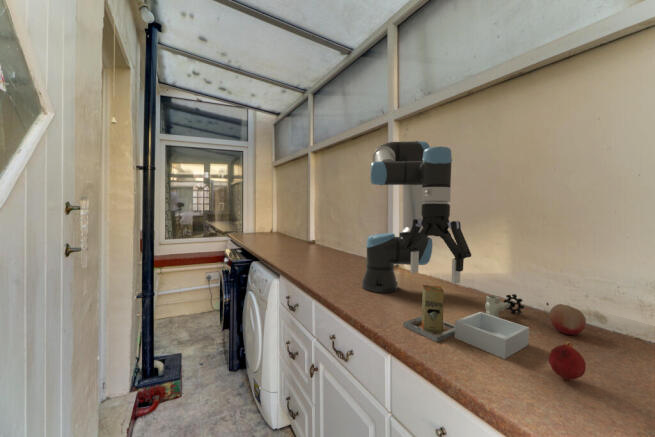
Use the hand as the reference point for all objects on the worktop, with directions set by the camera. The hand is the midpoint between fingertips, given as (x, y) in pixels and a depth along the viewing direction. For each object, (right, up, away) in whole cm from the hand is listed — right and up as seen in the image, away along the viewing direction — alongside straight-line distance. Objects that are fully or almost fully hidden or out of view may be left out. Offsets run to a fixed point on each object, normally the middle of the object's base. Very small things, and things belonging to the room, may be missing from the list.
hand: (433, 277), depth 81 cm
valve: (+27, -15, +12) cm, 33 cm away
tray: (+13, -16, -6) cm, 21 cm away
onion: (+19, -17, -22) cm, 34 cm away
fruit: (+38, -16, 0) cm, 41 cm away
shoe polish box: (0, -15, +1) cm, 15 cm away
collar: (0, -15, +1) cm, 15 cm away
